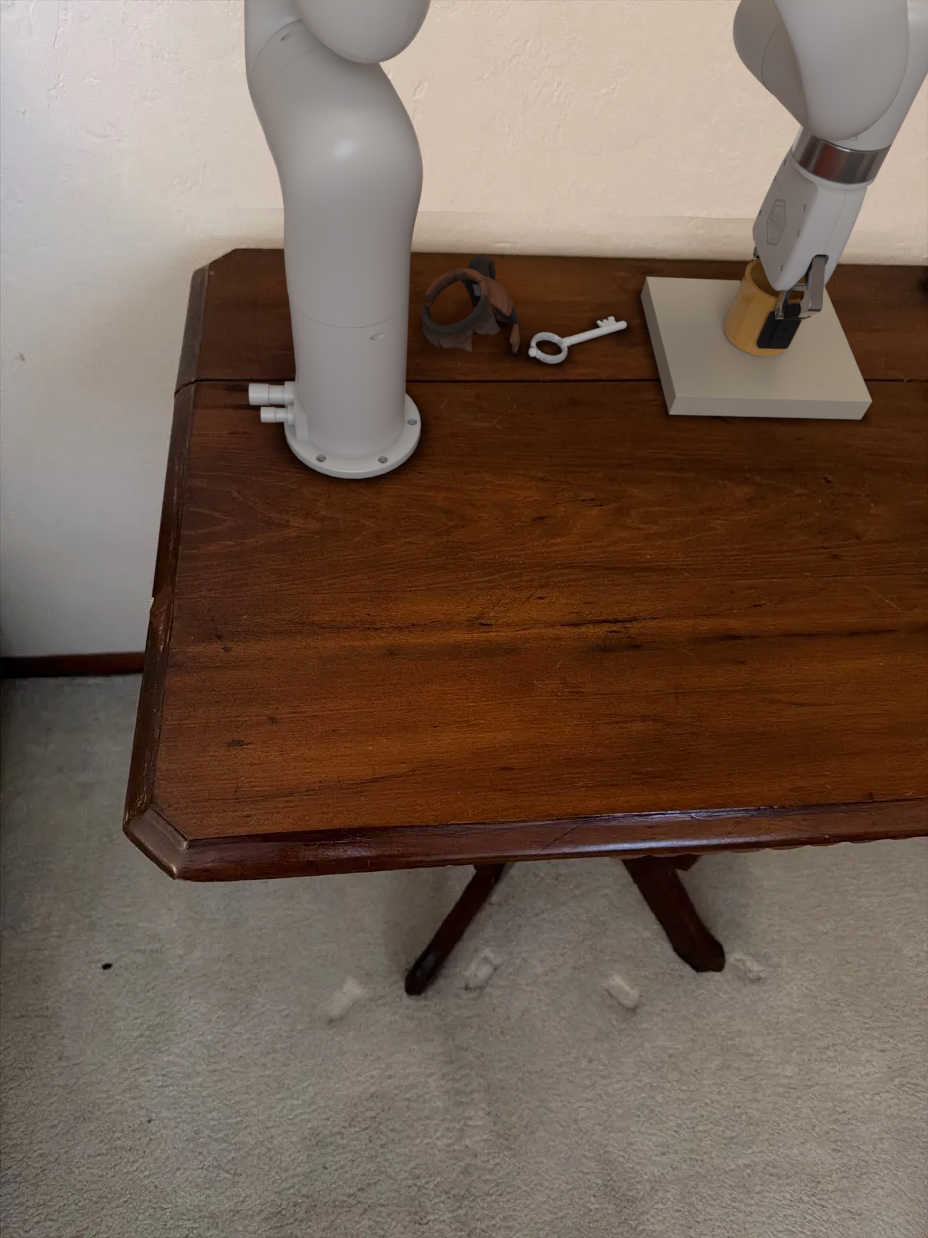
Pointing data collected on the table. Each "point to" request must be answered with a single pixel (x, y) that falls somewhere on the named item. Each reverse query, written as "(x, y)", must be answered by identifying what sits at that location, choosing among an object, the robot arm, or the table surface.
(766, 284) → the cup
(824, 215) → the robot arm
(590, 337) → the key
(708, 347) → the board
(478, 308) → the brown grey ring-shaped piece
